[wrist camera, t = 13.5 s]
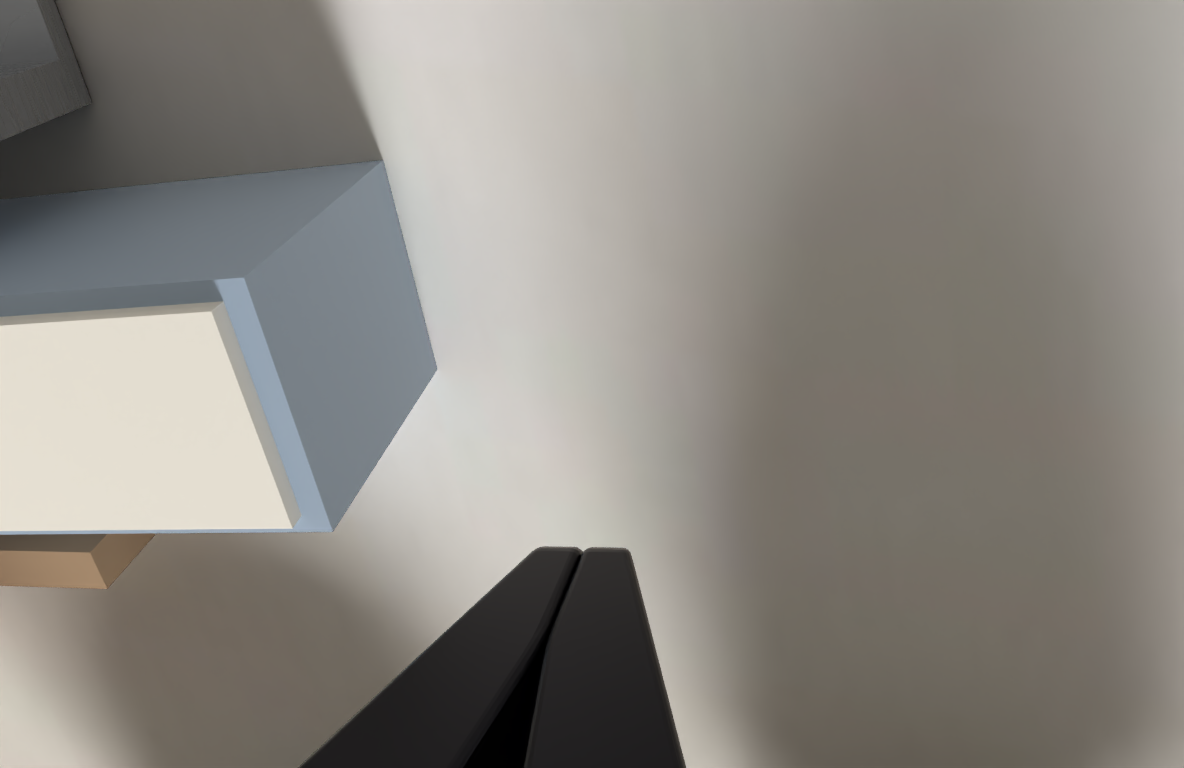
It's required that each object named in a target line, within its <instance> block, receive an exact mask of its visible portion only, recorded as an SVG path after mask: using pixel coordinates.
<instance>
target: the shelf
mask: <svg viewBox="0 0 1184 768" xmlns="http://www.w3.org/2000/svg"><path fill="white" fill-rule="evenodd" d="M155 534H156V533H137V534H16V535H0V586H30V587H62V588H95V589H108V587H109V586H110V585H111V584H112V583H113V582H114V581H115V580H116V578H117V577H118V576H119V575H120V574H121V573H122V572H123V571H124V569H125V568H126V567H127V566H128V565H129V564H130V563H131V562H132V560H133V559H134V558H135V557H136V556H137V555H138V554H139V552H140V551H141V550H142V549H143V548H144V547H145V546H146V545H147V543H148V542H149V541H150V540H151V539H152V538H153V537H154V536H155Z"/></svg>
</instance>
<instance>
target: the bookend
mask: <svg viewBox="0 0 1184 768" xmlns="http://www.w3.org/2000/svg"><path fill="white" fill-rule="evenodd" d="M91 103H92V101H91V99H90V96H89V93H88V90H87V88H86V85H85V82H84V80H83V77H82V74H81V71H80V69H79V66H78V63H77V61H76V58H75V55H74V52H73V50H72V47H71V44H70V42H69V39H68V36H67V34H66V31H65V28H64V25H63V23H62V20H61V17H60V15H59V12H58V9H57V6H56V4H55V1H54V0H0V141H1V140H4V139H6V138H9V137H11V136H13V135H16V134H18V133H21V132H23V131H25V130H28V129H30V128H33V127H35V126H38V125H40V124H42V123H45V122H47V121H50V120H52V119H55V118H57V117H59V116H62V115H64V114H67V113H69V112H71V111H74V110H76V109H79V108H81V107H84V106H86V105H88V104H91Z"/></svg>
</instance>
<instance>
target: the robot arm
mask: <svg viewBox="0 0 1184 768" xmlns="http://www.w3.org/2000/svg"><path fill="white" fill-rule="evenodd" d="M298 768H686V765H685V761H684V757H683V753H682V750H681V746H680V742H679V738H678V734H677V730H676V726H675V722H674V719H673V715H672V711H671V707H670V703H669V699H668V695H667V691H666V687H665V684H664V680H663V676H662V672H661V668H660V664H659V660H658V656H657V653H656V649H655V645H654V641H653V637H652V633H651V629H650V625H649V621H648V618H647V614H646V610H645V606H644V602H643V598H642V594H641V590H640V587H639V583H638V579H637V575H636V571H635V567H634V563H633V559H632V556H631V553H630V552H629V550H627V549H626V548H604V547H591V548H588V549H586V550H585V551H584V552H583V551H582V550H580V549H579V548H577V547H546V546H545V547H539V548H537V549H535V550H534V551H532V552H531V553H530V554H529V555H528V556H527V557H526V558H525V559H524V560H522V561H521V562H520V563H519V564H518V565H517V566H516V567H515V568H514V569H513V570H512V571H511V572H509V573H508V574H507V575H506V576H505V577H504V578H503V579H502V580H501V581H500V582H499V583H498V584H496V585H495V586H494V587H493V588H492V589H491V590H490V591H489V592H488V593H487V594H486V595H485V596H483V597H482V598H481V599H480V600H479V601H478V602H477V603H476V604H475V605H474V606H473V607H472V608H470V609H469V610H468V611H467V612H466V613H465V614H464V615H463V616H462V617H461V618H460V619H459V620H457V621H456V622H455V623H454V624H453V625H452V626H451V627H450V628H449V629H448V630H447V631H446V632H444V633H443V634H442V635H441V636H440V637H439V638H438V639H437V640H436V641H435V642H434V643H433V644H431V645H430V646H429V647H428V648H427V649H426V650H425V651H424V652H423V653H422V654H421V655H420V656H418V657H417V658H416V659H415V660H414V661H413V662H412V663H411V664H410V665H409V666H408V667H407V668H405V669H404V670H403V671H402V672H401V673H400V674H399V675H398V676H397V677H396V678H395V679H394V680H392V681H391V682H390V683H389V684H388V685H387V686H386V687H385V688H384V689H383V690H382V691H380V692H379V693H378V694H377V695H376V696H375V697H374V698H373V699H372V700H371V701H370V702H369V703H367V704H366V705H365V706H364V707H363V708H362V709H361V710H360V711H359V712H358V713H357V714H356V715H354V716H353V717H352V718H351V719H350V720H349V721H348V722H347V723H346V724H345V725H344V726H343V727H341V728H340V729H339V730H338V731H337V732H336V733H335V734H334V735H333V736H332V737H331V738H330V739H328V740H327V741H326V742H325V743H324V744H323V745H322V746H321V747H320V748H319V749H318V750H317V751H315V752H314V753H313V754H312V755H311V756H310V757H309V758H308V759H307V760H306V761H305V762H304V763H302V764H301V765H300V766H299V767H298Z"/></svg>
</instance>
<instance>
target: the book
mask: <svg viewBox="0 0 1184 768" xmlns="http://www.w3.org/2000/svg"><path fill="white" fill-rule="evenodd" d="M436 371H437V366H436V362H435V358H434V355H433V351H432V347H431V343H430V339H429V335H428V331H427V328H426V324H425V320H424V316H423V312H422V308H421V304H420V300H419V297H418V293H417V289H416V285H415V281H414V277H413V273H412V270H411V266H410V262H409V258H408V254H407V250H406V246H405V243H404V239H403V235H402V231H401V227H400V223H399V219H398V216H397V212H396V208H395V204H394V200H393V196H392V192H391V188H390V185H389V181H388V177H387V173H386V169H385V165H384V161H383V160H380V161H370V162H360V163H351V164H341V165H331V166H321V167H312V168H302V169H292V170H283V171H273V172H263V173H253V174H244V175H234V176H224V177H215V178H205V179H195V180H186V181H176V182H166V183H156V184H147V185H137V186H127V187H118V188H108V189H98V190H88V191H79V192H69V193H59V194H50V195H40V196H30V197H20V198H11V199H1V200H0V535H16V534H137V533H258V532H333V531H334V529H335V528H336V526H337V525H338V523H339V522H340V520H341V518H342V517H343V515H344V514H345V512H346V511H347V509H348V508H349V506H350V504H351V503H352V501H353V500H354V498H355V497H356V495H357V494H358V492H359V490H360V489H361V487H362V486H363V484H364V483H365V481H366V480H367V478H368V476H369V475H370V473H371V472H372V470H373V469H374V467H375V466H376V464H377V462H378V461H379V459H380V458H381V456H382V455H383V453H384V452H385V450H386V448H387V447H388V445H389V444H390V442H391V441H392V439H393V438H394V436H395V434H396V433H397V431H398V430H399V428H400V427H401V425H402V424H403V422H404V420H405V419H406V417H407V416H408V414H409V413H410V411H411V410H412V408H413V406H414V405H415V403H416V402H417V400H418V399H419V397H420V396H421V394H422V392H423V391H424V389H425V388H426V386H427V385H428V383H429V382H430V380H431V378H432V377H433V375H434V374H435V372H436Z"/></svg>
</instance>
